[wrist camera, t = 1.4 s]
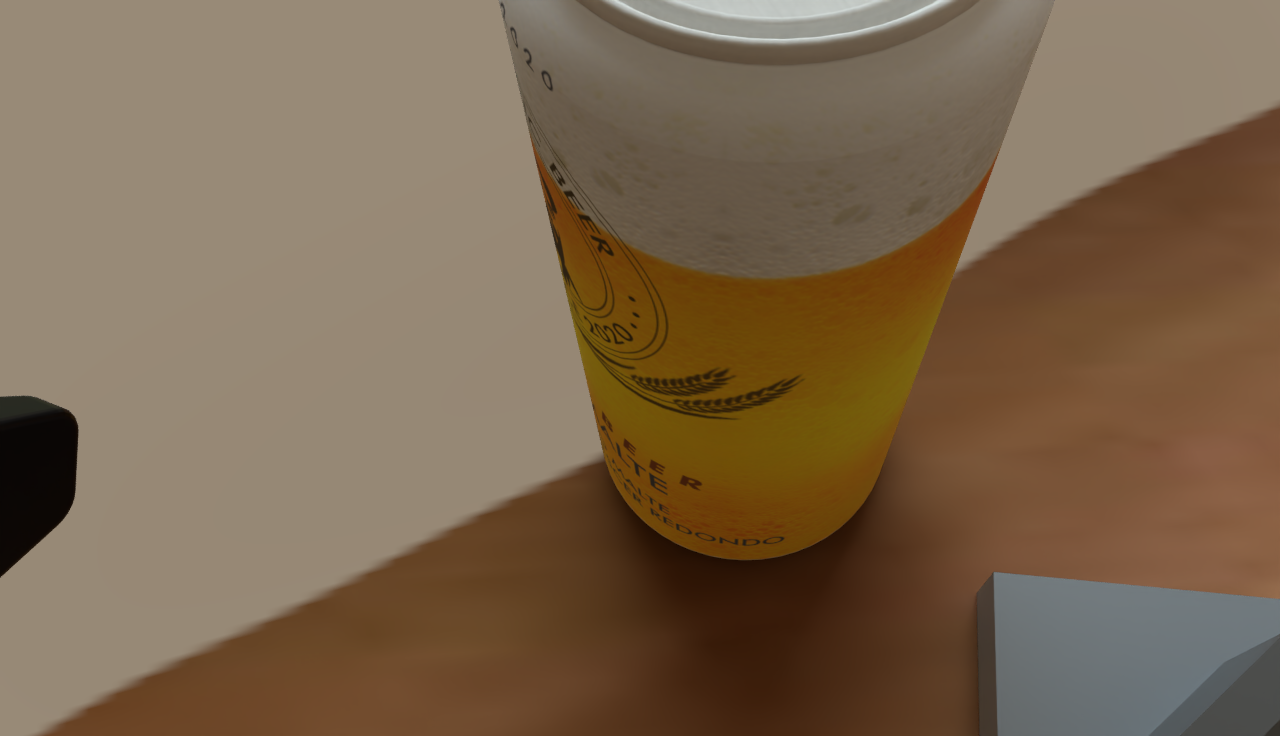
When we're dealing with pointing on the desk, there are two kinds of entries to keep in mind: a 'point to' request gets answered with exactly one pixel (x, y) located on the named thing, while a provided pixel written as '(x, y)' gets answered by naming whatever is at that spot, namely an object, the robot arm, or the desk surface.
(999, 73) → the beer can
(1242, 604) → the collar dock
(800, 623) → the desk surface
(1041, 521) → the desk surface
